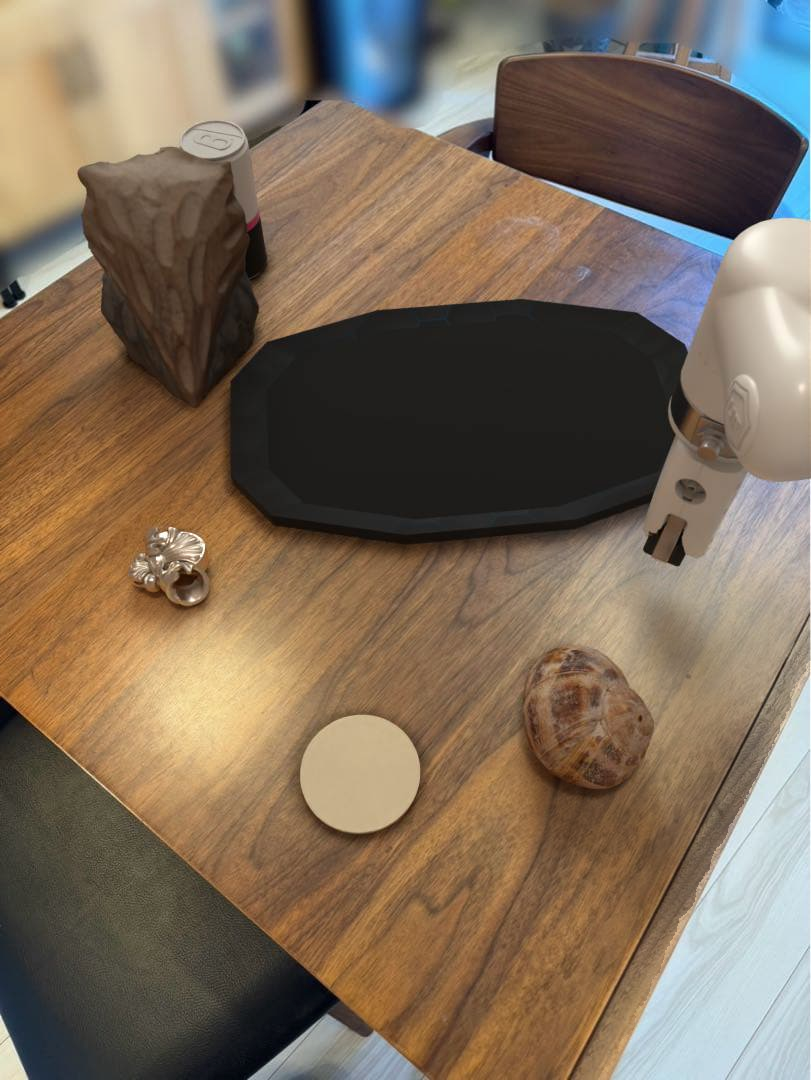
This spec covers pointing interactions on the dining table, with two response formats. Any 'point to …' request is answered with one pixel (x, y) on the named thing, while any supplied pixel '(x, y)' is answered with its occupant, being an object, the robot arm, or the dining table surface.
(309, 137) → the dining table surface
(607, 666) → the seashell
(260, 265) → the beverage can
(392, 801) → the coaster
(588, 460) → the tray
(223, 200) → the brown rock
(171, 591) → the ornament
